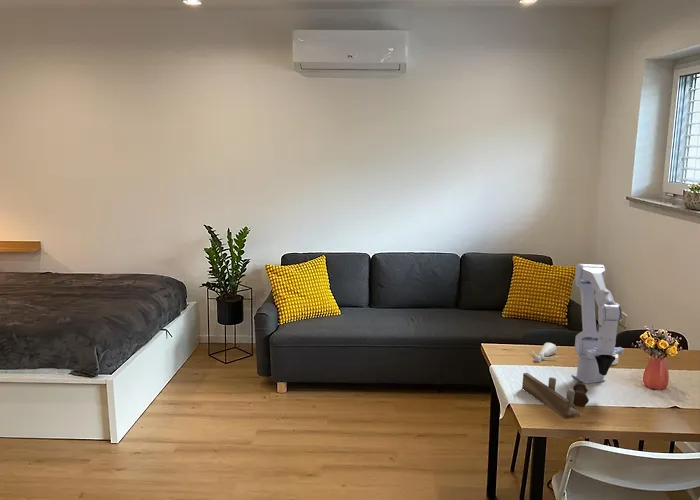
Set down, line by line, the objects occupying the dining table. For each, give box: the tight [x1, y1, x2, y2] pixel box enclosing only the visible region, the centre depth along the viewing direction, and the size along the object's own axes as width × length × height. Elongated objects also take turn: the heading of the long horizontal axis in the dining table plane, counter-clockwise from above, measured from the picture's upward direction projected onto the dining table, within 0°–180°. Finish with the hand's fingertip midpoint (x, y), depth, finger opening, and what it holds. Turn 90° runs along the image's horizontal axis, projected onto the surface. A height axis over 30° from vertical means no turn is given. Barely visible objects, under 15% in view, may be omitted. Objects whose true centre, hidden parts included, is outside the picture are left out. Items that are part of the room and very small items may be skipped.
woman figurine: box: [530, 342, 558, 363], centre depth 250 cm, size 12×4×18 cm
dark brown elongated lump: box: [572, 380, 590, 408], centre depth 211 cm, size 6×5×15 cm
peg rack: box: [521, 372, 582, 420], centre depth 207 cm, size 8×24×6 cm, turn 18°
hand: (602, 374), depth 212 cm, fingers closed
